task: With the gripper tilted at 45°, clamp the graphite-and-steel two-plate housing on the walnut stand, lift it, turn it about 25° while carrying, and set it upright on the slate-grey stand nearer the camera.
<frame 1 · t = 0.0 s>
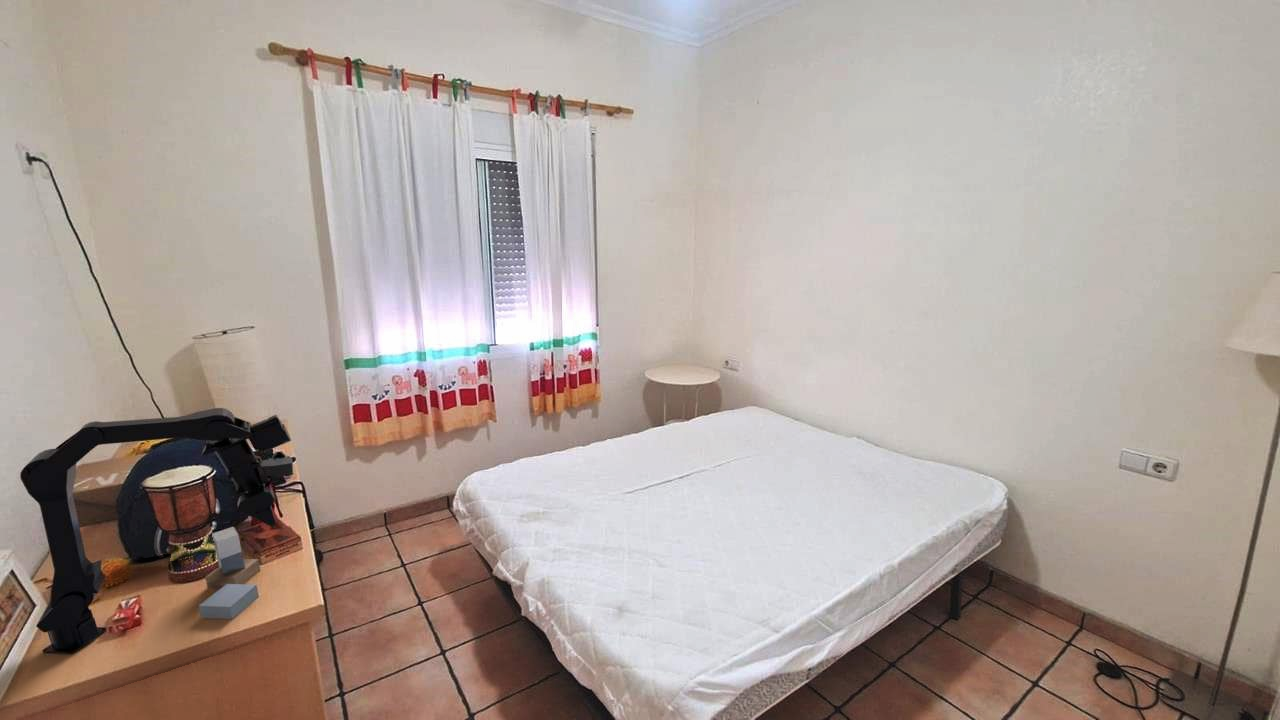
hand: (273, 516, 118), 15 cm above the dresser, tool pointing down, fingers open, 9 cm apart
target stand: (231, 606, 111), on the dresser
housing: (232, 567, 119), point 3 cm above the dresser, touching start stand
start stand: (234, 578, 120), on the dresser
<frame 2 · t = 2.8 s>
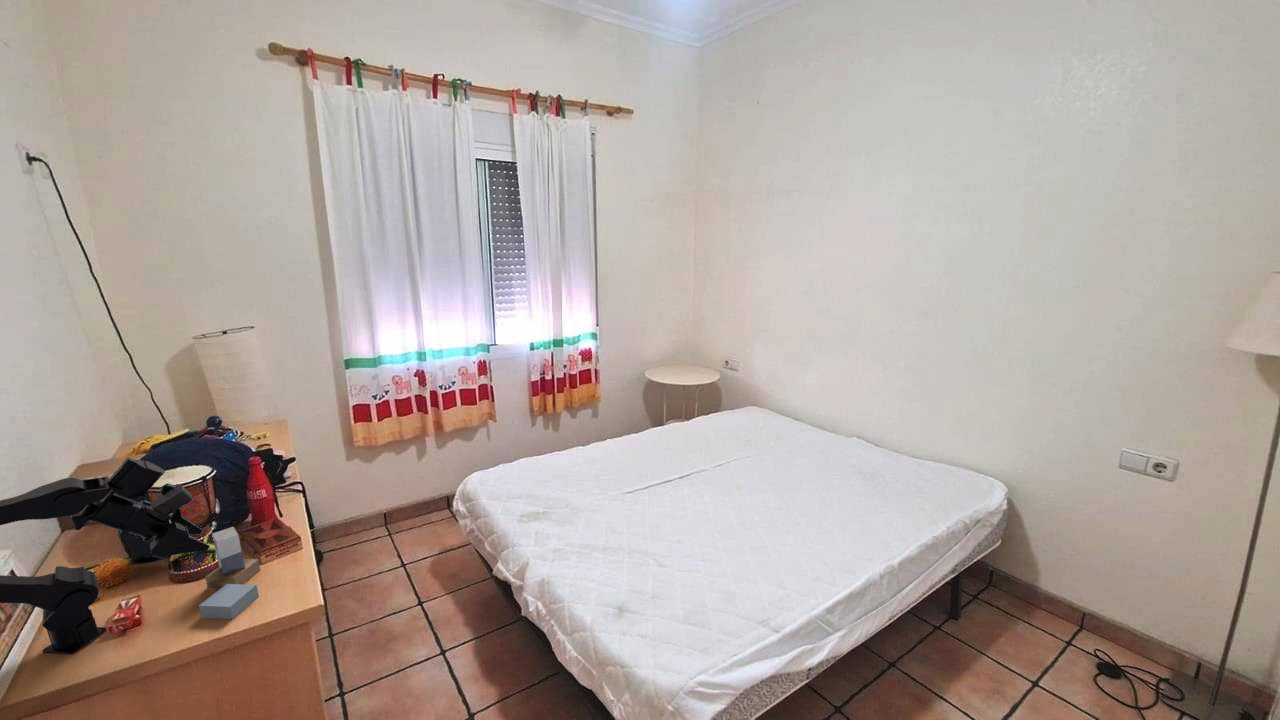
hand: (204, 540, 114), 12 cm above the dresser, tool tilted 45°, fingers open, 9 cm apart
nothing on the dresser moved.
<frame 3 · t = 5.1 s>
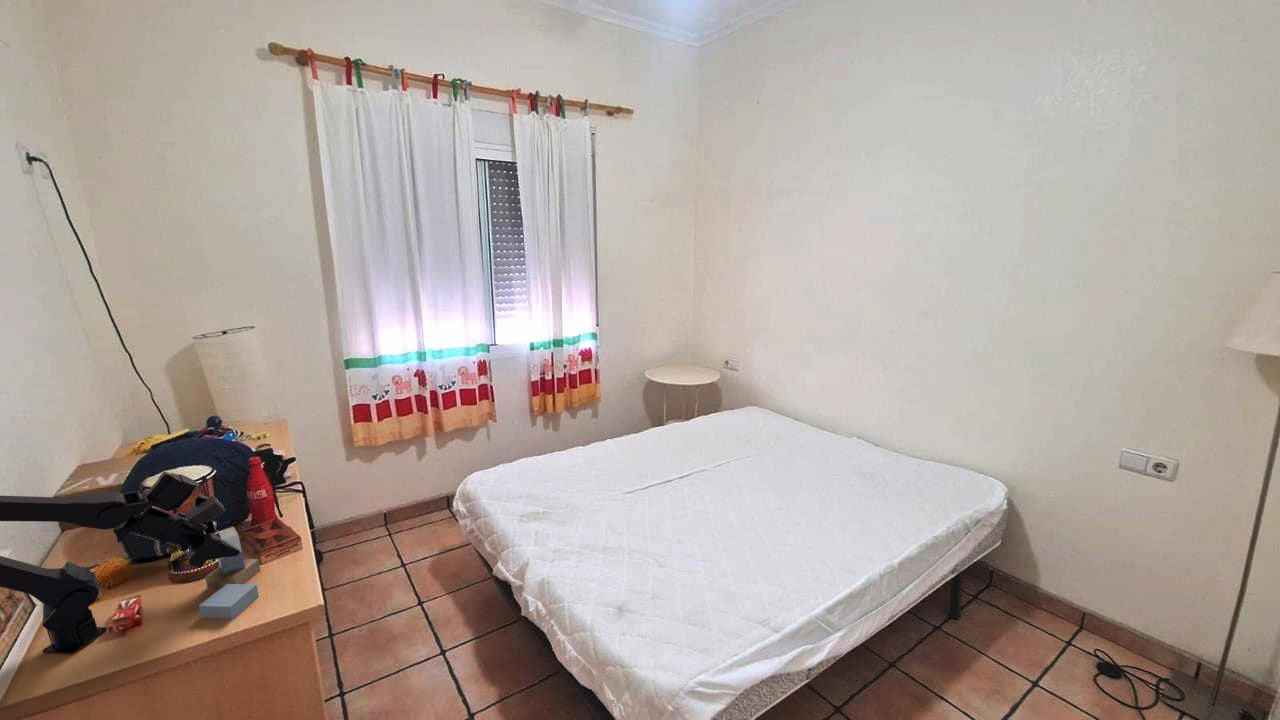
hand: (236, 548, 119), 7 cm above the dresser, tool tilted 45°, fingers closed on housing, 5 cm apart
housing: (232, 567, 119), point 3 cm above the dresser, touching gripper, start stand
everything else where it was.
when the fingers open (8 cm above the dresser, at t = 9.4 s): housing stays where it is, resting on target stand.
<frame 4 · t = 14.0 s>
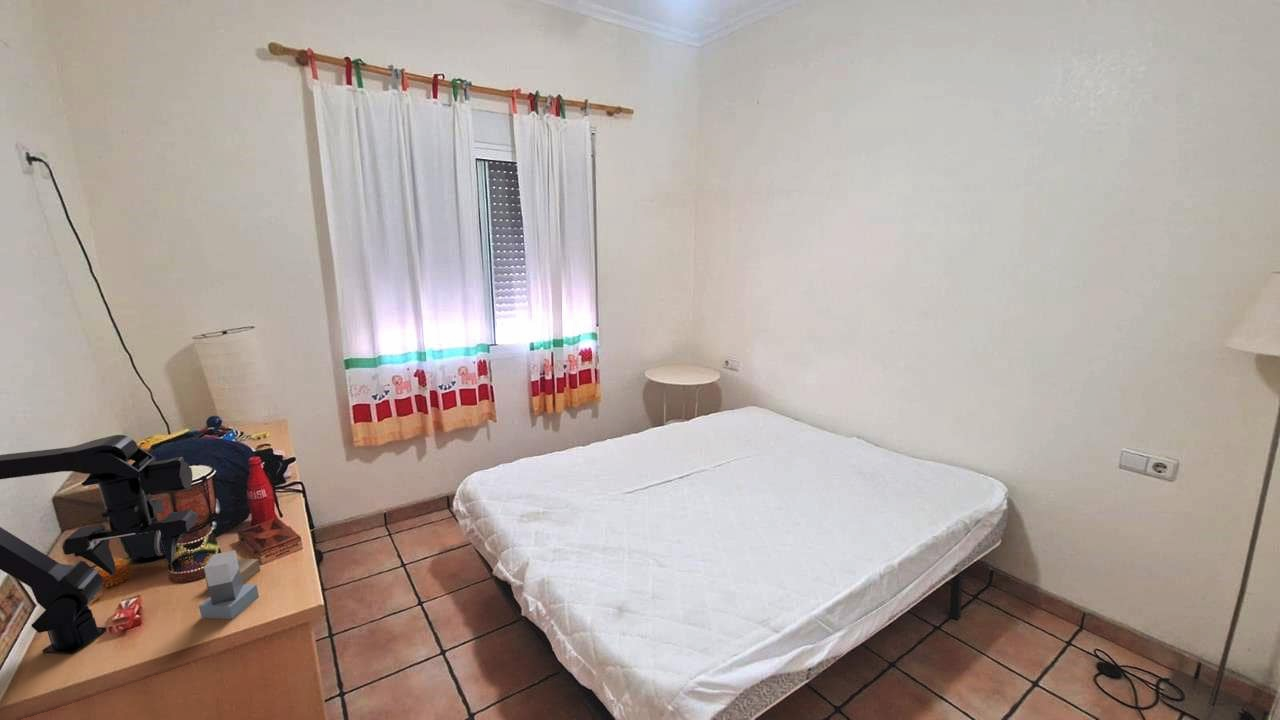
hand: (142, 567, 104), 13 cm above the dresser, tool pointing down, fingers open, 9 cm apart
housing: (228, 595, 110), point 3 cm above the dresser, touching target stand
everything else where it was.
at the end: housing 0.0 cm off-centre on the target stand, point 3.0 cm above the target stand's base; housing tilted 0°; the gripper is holding nothing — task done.
